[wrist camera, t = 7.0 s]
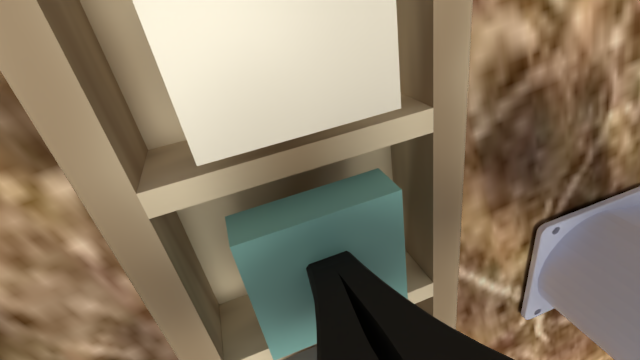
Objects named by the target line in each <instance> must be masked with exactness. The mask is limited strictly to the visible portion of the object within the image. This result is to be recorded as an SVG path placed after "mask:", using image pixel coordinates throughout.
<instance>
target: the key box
mask: <svg viewBox="0 0 640 360" xmlns="http://www.w3.org/2000/svg"><path fill="white" fill-rule="evenodd" d="M472 4H473V0H396V9H397V30H398V51H399V72H400V93H401V109H397V110H393V111H390V112H386V113H383V114H379V115H376V116H372V117H369V118H365V119H362V120H358V121H355V122H351V123H348V124H344V125H341V126H337V127H334V128H330V129H327V130H323V131H320V132H316V133H313V134H309V135H306V136H302V137H299V138H295V139H291V140H288V141H284V142H281V143H277V144H274V145H270V146H267V147H263V148H260V149H256V150H253V151H249V152H246V153H242V154H239V155H235V156H232V157H228V158H225V159H221V160H218V161H214V162H211V163H207V164H204V165H200V166H197V165H196V163H195V160H194V157H193V155H192V152H191V150H190V147H189V145H188V142H187V140H186V137H185V134H184V132H183V129H182V127H181V124H180V122H179V119H178V116H177V114H176V111H175V109H174V106H173V104H172V101H171V99H170V96H169V93H168V91H167V88H166V86H165V83H164V81H163V78H162V75H161V73H160V70H159V68H158V65H157V63H156V60H155V58H154V55H153V52H152V50H151V47H150V45H149V42H148V40H147V37H146V34H145V32H144V29H143V27H142V24H141V22H140V19H139V17H138V14H137V11H136V9H135V6H134V4H133V1H132V0H0V71H1V72H2V74H3V75H4V77H5V79H6V80H7V82H8V84H9V85H10V87H11V88H12V90H13V92H14V93H15V95H16V97H17V98H18V100H19V101H20V103H21V105H22V106H23V108H24V109H25V111H26V113H27V114H28V116H29V118H30V119H31V121H32V122H33V124H34V126H35V127H36V129H37V131H38V132H39V134H40V135H41V137H42V139H43V140H44V142H45V143H46V145H47V147H48V148H49V150H50V152H51V153H52V155H53V156H54V158H55V160H56V161H57V163H58V165H59V166H60V168H61V169H62V171H63V173H64V174H65V176H66V178H67V179H68V181H69V182H70V184H71V186H72V187H73V189H74V190H75V192H76V194H77V195H78V197H79V199H80V200H81V202H82V203H83V205H84V207H85V208H86V210H87V212H88V213H89V215H90V216H91V218H92V220H93V221H94V223H95V224H96V226H97V228H98V229H99V231H100V233H101V234H102V236H103V237H104V239H105V241H106V242H107V244H108V246H109V247H110V249H111V250H112V252H113V254H114V255H115V257H116V258H117V260H118V262H119V263H120V265H121V267H122V268H123V270H124V271H125V273H126V275H127V276H128V278H129V280H130V281H131V283H132V284H133V286H134V288H135V289H136V291H137V292H138V294H139V296H140V297H141V299H142V301H143V302H144V304H145V305H146V307H147V309H148V310H149V312H150V314H151V315H152V317H153V318H154V320H155V322H156V323H157V325H158V326H159V328H160V330H161V331H162V333H163V335H164V336H165V338H166V339H167V341H168V343H169V344H170V346H171V348H172V349H173V351H174V352H175V354H176V356H177V357H178V359H179V360H273V358H272V355H271V353H270V350H269V348H268V345H267V342H266V340H265V337H264V335H263V332H262V329H261V327H260V324H259V322H258V319H257V317H256V314H255V311H254V309H253V306H252V304H251V301H250V299H249V296H248V293H247V291H246V288H245V286H244V283H243V281H242V278H241V275H240V273H239V270H238V268H237V265H236V263H235V260H234V257H233V255H232V252H231V250H230V247H229V240H228V234H227V227H226V221H225V216H228V215H232V214H235V213H238V212H241V211H244V210H247V209H251V208H254V207H257V206H260V205H263V204H266V203H270V202H273V201H276V200H279V199H282V198H285V197H289V196H292V195H295V194H298V193H301V192H304V191H307V190H311V189H314V188H317V187H320V186H323V185H326V184H330V183H333V182H336V181H339V180H342V179H345V178H349V177H352V176H355V175H358V174H361V173H364V172H368V171H371V170H374V169H377V168H379V169H380V170H381V171H382V172H383V173H384V174H385V175H387V176H388V177H389V178H390V179H391V180H392V181H393V182H394V183H395V184H396V185H397V186H398V187H400V188H401V189H402V199H403V218H404V237H405V256H406V274H407V293H408V300H409V301H411V302H412V303H414V304H415V305H417V306H418V307H420V308H421V309H423V310H424V311H426V312H427V313H429V314H430V315H432V316H433V317H435V318H437V319H438V320H440V321H442V322H443V323H445V324H447V325H448V326H450V327H452V328H453V329H455V330H456V314H457V294H458V275H459V256H460V236H461V217H462V198H463V178H464V159H465V140H466V120H467V101H468V82H469V62H470V43H471V24H472ZM314 345H315V344H314ZM310 348H312V346H309V347H307V348H304V349H302V350H300V351H297V352H295V353H292V354H290V355H287V356H285V357H282V358H280V359H277V360H283V359H286V358H288V357H290V356H293V355H295V354H298V353H300V352H303V351H305V350H308V349H310Z"/></svg>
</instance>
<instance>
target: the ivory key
mask: <svg viewBox="0 0 640 360" xmlns="http://www.w3.org/2000/svg"><path fill="white" fill-rule="evenodd" d="M132 1H133V4H134V6H135V9H136V11H137V14H138V17H139V19H140V22H141V24H142V27H143V29H144V32H145V34H146V37H147V40H148V42H149V45H150V47H151V50H152V52H153V55H154V58H155V60H156V63H157V65H158V68H159V70H160V73H161V75H162V78H163V81H164V83H165V86H166V88H167V91H168V93H169V96H170V99H171V101H172V104H173V106H174V109H175V111H176V114H177V116H178V119H179V122H180V124H181V127H182V129H183V132H184V134H185V137H186V140H187V142H188V145H189V147H190V150H191V152H192V155H193V157H194V160H195V163H196V165H197V166H200V165H204V164H207V163H211V162H214V161H218V160H221V159H225V158H228V157H232V156H235V155H239V154H242V153H246V152H249V151H253V150H256V149H260V148H263V147H267V146H270V145H274V144H277V143H281V142H284V141H288V140H291V139H295V138H299V137H302V136H306V135H309V134H313V133H316V132H320V131H323V130H327V129H330V128H334V127H337V126H341V125H344V124H348V123H351V122H355V121H358V120H362V119H365V118H369V117H372V116H376V115H379V114H383V113H386V112H390V111H393V110H397V109H401V93H400V72H399V51H398V30H397V9H396V0H132Z"/></svg>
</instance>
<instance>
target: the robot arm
mask: <svg viewBox="0 0 640 360" xmlns="http://www.w3.org/2000/svg"><path fill="white" fill-rule="evenodd" d="M306 271H307V274H308V278H309V282H310V286H311V290H312V294H313V298H314V304H315V316H316V330H317V360H514V359H512V358H510V357H508V356H506V355H503V354H501V353H499V352H497V351H495V350H493V349H491V348H489V347H487V346H485V345H483V344H481V343H479V342H477V341H475V340H473V339H471V338H470V337H468V336H466V335H464V334H462V333H460V332H459V331H457V330H455V329H453V328H452V327H450V326H448V325H447V324H445V323H443V322H442V321H440V320H438V319H437V318H435V317H433V316H432V315H430V314H429V313H427V312H426V311H424V310H423V309H421V308H420V307H418V306H417V305H415V304H414V303H412V302H411V301H409V300H408V299H407V298H405V297H404V296H402V295H401V294H400V293H398V292H397V291H396V290H394V289H393V288H392V287H390V286H389V285H388V284H386V283H385V282H384V281H383V280H381V279H380V278H379V277H378V276H376V275H375V274H374V273H373V272H372V271H370V270H369V269H368V268H367V267H366V266H365V265H363V264H362V263H361V262H360V261H359V260H358V259H357V258H356V257H355V256H353V255H352V254H351V253H350V252H348V251H344V252H341V253H339V254H336V255H333V256H330V257H327V258H325V259H322V260H319V261H316V262H314V263H311V264H309V265H308V266H307V267H306ZM554 308H555V309H556V310H557V311H559V312H560V313H561V314H562V315H563V316H564V317H566V318H567V319H568V320H569V321H570V322H571V323H573V324H574V325H575V326H576V327H577V328H578V329H580V330H581V331H582V332H583V333H584V334H585V335H587V336H588V337H589V338H590V339H591V340H592V341H594V342H595V343H596V344H597V345H598V346H599V347H600V348H602V349H603V350H604V351H605V352H606V353H607V354H609V355H610V356H611V357H612V358H613V359H614V360H640V186H639V187H637V188H634V189H632V190H629V191H626V192H624V193H621V194H619V195H616V196H614V197H611V198H608V199H606V200H603V201H601V202H598V203H596V204H593V205H590V206H588V207H585V208H583V209H580V210H577V211H575V212H572V213H570V214H567V215H565V216H562V217H559V218H557V219H554V220H552V221H549V222H547V223H544V224H542V225H541V226H540V227H539V228H538V230H537V232H536V237H535V243H534V248H533V253H532V258H531V263H530V269H529V274H528V279H527V284H526V289H525V295H524V300H523V305H522V310H521V315H522V316H523V317H524V318H525V319H526V320H529V319H532V318H534V317H536V316H538V315H541V314H543V313H545V312H547V311H549V310H552V309H554Z"/></svg>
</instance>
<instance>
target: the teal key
mask: <svg viewBox="0 0 640 360" xmlns="http://www.w3.org/2000/svg"><path fill="white" fill-rule="evenodd" d="M225 221H226V227H227V234H228V240H229V247H230V250H231V252H232V255H233V257H234V260H235V263H236V265H237V268H238V270H239V273H240V275H241V278H242V281H243V283H244V286H245V288H246V291H247V293H248V296H249V299H250V301H251V304H252V306H253V309H254V311H255V314H256V317H257V319H258V322H259V324H260V327H261V329H262V332H263V335H264V337H265V340H266V342H267V345H268V348H269V350H270V353H271V355H272V358H273V360H277V359H280V358H282V357H285V356H287V355H290V354H292V353H295V352H297V351H300V350H302V349H304V348H307V347H309V346H312V345H314V344H317V330H316V316H315V304H314V298H313V294H312V290H311V286H310V282H309V278H308V274H307V271H306V267H307V266H308V265H309V264H311V263H314V262H316V261H319V260H322V259H325V258H327V257H330V256H333V255H336V254H339V253H341V252H344V251H348V252H350V253H351V254H352V255H353V256H355V257H356V258H357V259H358V260H359V261H360V262H361V263H362V264H363V265H365V266H366V267H367V268H368V269H369V270H370V271H372V272H373V273H374V274H375V275H376V276H378V277H379V278H380V279H381V280H383V281H384V282H385V283H386V284H388V285H389V286H390V287H392V288H393V289H394V290H396V291H397V292H398V293H400V294H401V295H402V296H404V297H405V298H407V299H408V293H407V274H406V256H405V237H404V218H403V199H402V189H401V188H400V187H398V186H397V185H396V184H395V183H394V182H393V181H392V180H391V179H390V178H389V177H388V176H387V175H385V174H384V173H383V172H382V171H381V170H380V169H379V168H377V169H374V170H371V171H368V172H364V173H361V174H358V175H355V176H352V177H349V178H345V179H342V180H339V181H336V182H333V183H330V184H326V185H323V186H320V187H317V188H314V189H311V190H307V191H304V192H301V193H298V194H295V195H292V196H289V197H285V198H282V199H279V200H276V201H273V202H270V203H266V204H263V205H260V206H257V207H254V208H251V209H247V210H244V211H241V212H238V213H235V214H232V215H228V216H225Z"/></svg>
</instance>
